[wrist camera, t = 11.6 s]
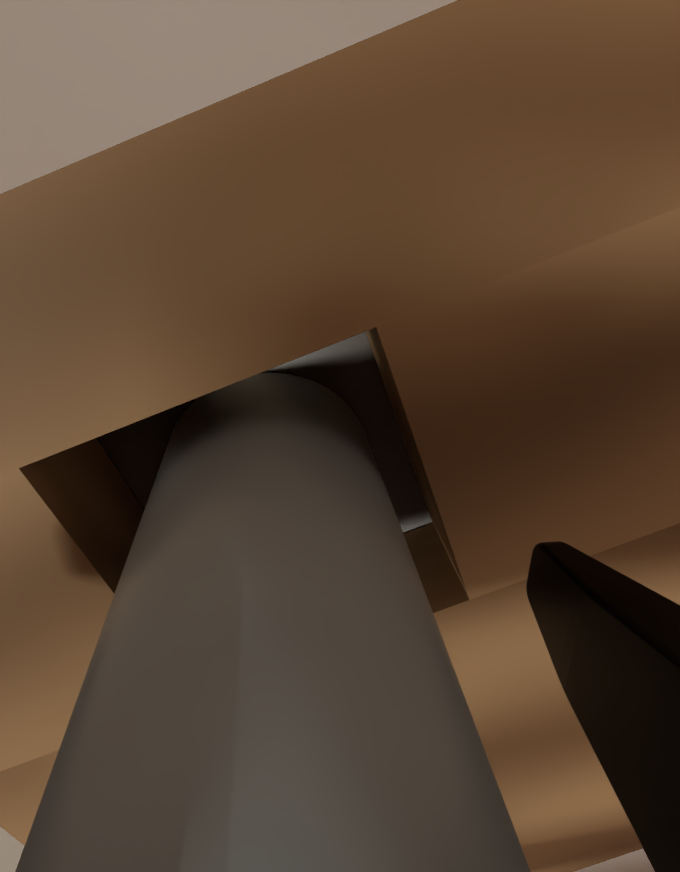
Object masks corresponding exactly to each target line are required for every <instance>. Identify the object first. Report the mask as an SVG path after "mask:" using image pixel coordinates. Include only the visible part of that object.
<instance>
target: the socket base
mask: <svg viewBox="0 0 680 872" xmlns="http://www.w3.org/2000/svg"><path fill="white" fill-rule="evenodd" d="M365 331H366V334H367V337H368V340H369V342H370V345H371V348H372V351H373V354H374V357H375V360H376V362H377V365H378V368H379V371H380V374H381V377H382V379H383V382H384V385H385V388H386V391H387V394H388V396H389V399H390V402H391V405H392V408H393V411H394V413H395V416H396V419H397V422H398V425H399V428H400V430H401V433H402V436H403V439H404V442H405V445H406V447H407V450H408V453H409V456H410V459H411V462H412V464H413V467H414V470H415V473H416V476H417V479H418V482H419V484H420V487H421V490H422V493H423V496H424V499H425V501H426V504H427V507H428V510H429V513H430V516H431V518H432V521H433V523H431V524H428V525H426V526H423V527H420V528H418V529H415V530H412V531H410V532H407V533H404V537H405V540H406V542H407V545H408V548H409V550H410V553H411V556H412V558H413V561H414V564H415V566H416V569H417V572H418V574H419V577H420V580H421V582H422V585H423V587H424V590H425V593H426V595H427V598H428V601H429V603H430V606H431V609H432V611H433V614H434V617H435V619H436V622H437V625H438V627H439V630H440V633H441V635H442V638H443V641H444V643H445V646H446V648H447V651H448V654H449V656H450V659H451V662H452V664H453V667H454V670H455V672H456V675H457V678H458V680H459V683H460V686H461V688H462V691H463V694H464V696H465V699H466V702H467V704H468V707H469V710H470V712H471V715H472V717H473V720H474V723H475V725H476V728H477V731H478V733H479V736H480V739H481V741H482V744H483V747H484V749H485V752H486V755H487V757H488V760H489V763H490V765H491V768H492V771H493V773H494V776H495V778H496V781H497V784H498V786H499V789H500V792H501V794H502V797H503V800H504V802H505V805H506V808H507V810H508V813H509V816H510V818H511V821H512V824H513V826H514V829H515V832H516V834H517V837H518V839H519V842H520V845H521V847H522V850H523V853H524V855H525V858H526V861H527V863H528V866H529V869H530V871H531V872H574V871H577V870H580V869H582V868H585V867H588V866H591V865H594V864H597V863H600V862H603V861H606V860H609V859H612V858H615V857H618V856H621V855H624V854H627V853H630V852H633V851H636V850H639V849H642V848H643V847H642V845H641V843H640V841H639V839H638V837H637V835H636V833H635V831H634V829H633V827H632V825H631V823H630V821H629V819H628V817H627V815H626V813H625V811H624V809H623V807H622V805H621V803H620V801H619V800H618V798H617V796H616V794H615V792H614V790H613V788H612V786H611V784H610V782H609V780H608V778H607V776H606V774H605V772H604V770H603V768H602V766H601V764H600V762H599V760H598V758H597V756H596V754H595V752H594V750H593V748H592V746H591V744H590V742H589V740H588V738H587V736H586V734H585V733H584V731H583V729H582V727H581V725H580V723H579V721H578V719H577V717H576V715H575V713H574V711H573V709H572V707H571V705H570V703H569V701H568V699H567V697H566V694H565V692H564V690H563V688H562V685H561V683H560V681H559V678H558V676H557V673H556V671H555V668H554V665H553V663H552V660H551V658H550V655H549V652H548V650H547V647H546V645H545V642H544V639H543V637H542V634H541V632H540V629H539V626H538V624H537V621H536V619H535V616H534V613H533V611H532V608H531V605H530V603H529V600H528V597H527V591H526V583H527V577H528V572H529V567H530V561H531V556H532V551H533V548H534V547H535V545H536V544H538V543H542V542H554V541H561V542H564V543H567V544H568V545H570V546H572V547H574V548H576V549H578V550H579V551H581V552H583V553H585V554H587V555H589V556H590V557H592V558H594V559H596V560H598V561H600V562H602V563H603V564H605V565H607V566H609V567H611V568H613V569H614V570H616V571H618V572H620V573H622V574H624V575H625V576H627V577H629V578H631V579H633V580H635V581H636V582H638V583H640V584H642V585H644V586H646V587H648V588H649V589H651V590H653V591H655V592H657V593H659V594H660V595H662V596H664V597H666V598H668V599H670V600H671V601H673V602H675V603H677V604H679V605H680V0H457V1H455V2H453V3H450V4H448V5H446V6H443V7H441V8H439V9H436V10H434V11H431V12H429V13H427V14H424V15H422V16H420V17H417V18H415V19H413V20H410V21H408V22H405V23H403V24H401V25H398V26H396V27H394V28H391V29H389V30H387V31H384V32H382V33H380V34H377V35H375V36H372V37H370V38H368V39H365V40H363V41H361V42H358V43H356V44H354V45H351V46H349V47H347V48H344V49H342V50H339V51H337V52H335V53H332V54H330V55H328V56H325V57H323V58H321V59H318V60H316V61H313V62H311V63H309V64H306V65H304V66H302V67H299V68H297V69H295V70H292V71H290V72H288V73H285V74H283V75H280V76H278V77H276V78H273V79H271V80H269V81H266V82H264V83H262V84H259V85H257V86H255V87H252V88H250V89H247V90H245V91H243V92H240V93H238V94H236V95H233V96H231V97H229V98H226V99H224V100H221V101H219V102H217V103H214V104H212V105H210V106H207V107H205V108H203V109H200V110H198V111H196V112H193V113H191V114H188V115H186V116H184V117H181V118H179V119H177V120H174V121H172V122H170V123H167V124H165V125H163V126H160V127H158V128H155V129H153V130H151V131H148V132H146V133H144V134H141V135H139V136H137V137H134V138H132V139H129V140H127V141H125V142H122V143H120V144H118V145H115V146H113V147H111V148H108V149H106V150H104V151H101V152H99V153H96V154H94V155H92V156H89V157H87V158H85V159H82V160H80V161H78V162H75V163H73V164H71V165H68V166H66V167H63V168H61V169H59V170H56V171H54V172H52V173H49V174H47V175H45V176H42V177H40V178H37V179H35V180H33V181H30V182H28V183H26V184H23V185H21V186H19V187H16V188H14V189H12V190H9V191H7V192H4V193H2V194H0V826H1V827H2V828H3V829H5V830H6V831H7V832H8V833H9V834H11V835H12V836H13V837H14V838H16V839H17V840H18V841H19V842H21V843H22V844H23V845H24V846H25V844H26V841H27V838H28V835H29V832H30V830H31V827H32V824H33V821H34V818H35V816H36V813H37V810H38V807H39V804H40V802H41V799H42V796H43V793H44V790H45V788H46V785H47V782H48V779H49V776H50V774H51V771H52V768H53V765H54V762H55V759H56V757H57V754H58V751H59V748H60V745H61V743H62V740H63V737H64V734H65V731H66V729H67V726H68V723H69V720H70V717H71V715H72V712H73V709H74V706H75V703H76V701H77V698H78V695H79V692H80V689H81V686H82V684H83V681H84V678H85V675H86V672H87V670H88V667H89V664H90V661H91V658H92V656H93V653H94V650H95V647H96V644H97V642H98V639H99V636H100V633H101V630H102V628H103V625H104V622H105V619H106V616H107V613H108V611H109V608H110V605H111V602H112V599H113V597H114V594H115V591H116V588H117V585H118V583H119V580H120V577H121V574H122V571H123V569H124V566H125V563H126V560H127V557H128V555H129V552H130V549H131V546H132V543H133V541H134V538H135V535H136V532H137V529H138V526H139V524H140V521H141V518H142V515H143V512H144V510H143V509H142V507H141V506H140V504H139V502H138V501H137V499H136V498H135V496H134V495H133V493H132V492H131V490H130V489H129V487H128V486H127V484H126V483H125V481H124V480H123V478H122V477H121V475H120V474H119V472H118V471H117V469H116V468H115V466H114V465H113V463H112V462H111V460H110V459H109V457H108V456H107V454H106V453H105V451H104V450H103V448H102V447H101V445H100V444H99V442H98V441H97V439H96V438H97V437H99V436H102V435H104V434H107V433H109V432H112V431H114V430H117V429H119V428H122V427H125V426H127V425H130V424H132V423H135V422H137V421H140V420H142V419H145V418H147V417H150V416H152V415H155V414H157V413H160V412H162V411H165V410H168V409H170V408H173V407H175V406H178V405H180V404H183V403H185V402H188V401H190V400H193V399H195V398H198V397H200V396H203V395H205V394H208V393H211V392H213V391H216V390H218V389H221V388H223V387H226V386H228V385H231V384H233V383H236V382H238V381H241V380H243V379H246V378H248V377H251V376H254V375H256V374H259V373H261V372H264V371H266V370H269V369H271V368H274V367H276V366H279V365H281V364H284V363H286V362H289V361H291V360H294V359H296V358H299V357H302V356H304V355H307V354H309V353H312V352H314V351H317V350H319V349H322V348H324V347H327V346H329V345H332V344H334V343H337V342H339V341H342V340H345V339H347V338H350V337H352V336H355V335H357V334H360V333H362V332H365Z"/></svg>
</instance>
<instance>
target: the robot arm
mask: <svg viewBox="0 0 680 872" xmlns="http://www.w3.org/2000/svg"><path fill="white" fill-rule="evenodd" d="M526 591H527V597H528V600H529V603H530V605H531V608H532V611H533V613H534V616H535V619H536V621H537V624H538V626H539V629H540V632H541V634H542V637H543V639H544V642H545V645H546V647H547V650H548V652H549V655H550V658H551V660H552V663H553V665H554V668H555V671H556V673H557V676H558V678H559V681H560V683H561V685H562V688H563V690H564V692H565V694H566V697H567V699H568V701H569V703H570V705H571V707H572V709H573V711H574V713H575V715H576V717H577V719H578V721H579V723H580V725H581V727H582V729H583V731H584V733H585V734H586V736H587V738H588V740H589V742H590V744H591V746H592V748H593V750H594V752H595V754H596V756H597V758H598V760H599V762H600V764H601V766H602V768H603V770H604V772H605V774H606V776H607V778H608V780H609V782H610V784H611V786H612V788H613V790H614V792H615V794H616V796H617V798H618V800H619V801H620V803H621V805H622V807H623V809H624V811H625V813H626V815H627V817H628V819H629V821H630V823H631V825H632V827H633V829H634V831H635V833H636V835H637V837H638V839H639V841H640V843H641V845H642V847H643V849H644V851H645V853H646V855H647V857H648V859H649V861H650V863H651V865H652V866H653V868H654V870H655V872H680V605H679V604H677V603H675V602H673V601H671V600H670V599H668V598H666V597H664V596H662V595H660V594H659V593H657V592H655V591H653V590H651V589H649V588H648V587H646V586H644V585H642V584H640V583H638V582H636V581H635V580H633V579H631V578H629V577H627V576H625V575H624V574H622V573H620V572H618V571H616V570H614V569H613V568H611V567H609V566H607V565H605V564H603V563H602V562H600V561H598V560H596V559H594V558H592V557H590V556H589V555H587V554H585V553H583V552H581V551H579V550H578V549H576V548H574V547H572V546H570V545H568V544H567V543H564V542H561V541H554V542H542V543H538V544H536V545H535V547H534V548H533V551H532V556H531V561H530V567H529V572H528V577H527V583H526Z"/></svg>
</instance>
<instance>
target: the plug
mask: <svg viewBox="0 0 680 872" xmlns="http://www.w3.org/2000/svg"><path fill="white" fill-rule="evenodd" d="M16 872H531V871H530V869H529V866H528V863H527V861H526V858H525V855H524V853H523V850H522V847H521V845H520V842H519V839H518V837H517V834H516V832H515V829H514V826H513V824H512V821H511V818H510V816H509V813H508V810H507V808H506V805H505V802H504V800H503V797H502V794H501V792H500V789H499V786H498V784H497V781H496V778H495V776H494V773H493V771H492V768H491V765H490V763H489V760H488V757H487V755H486V752H485V749H484V747H483V744H482V741H481V739H480V736H479V733H478V731H477V728H476V725H475V723H474V720H473V717H472V715H471V712H470V710H469V707H468V704H467V702H466V699H465V696H464V694H463V691H462V688H461V686H460V683H459V680H458V678H457V675H456V672H455V670H454V667H453V664H452V662H451V659H450V656H449V654H448V651H447V648H446V646H445V643H444V641H443V638H442V635H441V633H440V630H439V627H438V625H437V622H436V619H435V617H434V614H433V611H432V609H431V606H430V603H429V601H428V598H427V595H426V593H425V590H424V587H423V585H422V582H421V580H420V577H419V574H418V572H417V569H416V566H415V564H414V561H413V558H412V556H411V553H410V550H409V548H408V545H407V542H406V540H405V537H404V534H403V532H402V529H401V526H400V524H399V521H398V519H397V516H396V513H395V511H394V508H393V505H392V503H391V500H390V497H389V495H388V492H387V489H386V487H385V484H384V481H383V479H382V476H381V473H380V471H379V468H378V465H377V463H376V460H375V458H374V455H373V452H372V450H371V447H370V444H369V442H368V439H367V436H366V434H365V431H364V429H363V427H362V425H361V423H360V421H359V419H358V418H357V416H356V415H355V413H354V412H353V411H352V409H351V408H350V407H349V406H348V405H347V404H346V403H345V402H344V401H343V400H342V399H341V398H340V397H338V396H337V395H336V394H335V393H333V392H332V391H330V390H329V389H327V388H326V387H324V386H322V385H320V384H318V383H316V382H313V381H311V380H308V379H305V378H302V377H299V376H295V375H289V374H284V373H259V374H256V375H254V376H251V377H248V378H246V379H243V380H241V381H238V382H236V383H233V384H231V385H228V386H226V387H223V388H221V389H218V390H216V391H213V392H211V393H208V394H205V395H203V396H200V397H198V398H197V399H196V400H195V401H194V402H193V403H192V404H191V405H190V406H189V407H188V408H187V409H186V410H185V412H184V413H183V414H182V416H181V417H180V419H179V420H178V422H177V423H176V425H175V428H174V430H173V432H172V434H171V437H170V439H169V442H168V445H167V448H166V451H165V453H164V456H163V459H162V462H161V465H160V468H159V470H158V473H157V476H156V479H155V482H154V484H153V487H152V490H151V493H150V496H149V498H148V501H147V504H146V507H145V510H144V512H143V515H142V518H141V521H140V524H139V526H138V529H137V532H136V535H135V538H134V541H133V543H132V546H131V549H130V552H129V555H128V557H127V560H126V563H125V566H124V569H123V571H122V574H121V577H120V580H119V583H118V585H117V588H116V591H115V594H114V597H113V599H112V602H111V605H110V608H109V611H108V613H107V616H106V619H105V622H104V625H103V628H102V630H101V633H100V636H99V639H98V642H97V644H96V647H95V650H94V653H93V656H92V658H91V661H90V664H89V667H88V670H87V672H86V675H85V678H84V681H83V684H82V686H81V689H80V692H79V695H78V698H77V701H76V703H75V706H74V709H73V712H72V715H71V717H70V720H69V723H68V726H67V729H66V731H65V734H64V737H63V740H62V743H61V745H60V748H59V751H58V754H57V757H56V759H55V762H54V765H53V768H52V771H51V774H50V776H49V779H48V782H47V785H46V788H45V790H44V793H43V796H42V799H41V802H40V804H39V807H38V810H37V813H36V816H35V818H34V821H33V824H32V827H31V830H30V832H29V835H28V838H27V841H26V844H25V847H24V849H23V852H22V855H21V858H20V861H19V863H18V866H17V869H16Z"/></svg>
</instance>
